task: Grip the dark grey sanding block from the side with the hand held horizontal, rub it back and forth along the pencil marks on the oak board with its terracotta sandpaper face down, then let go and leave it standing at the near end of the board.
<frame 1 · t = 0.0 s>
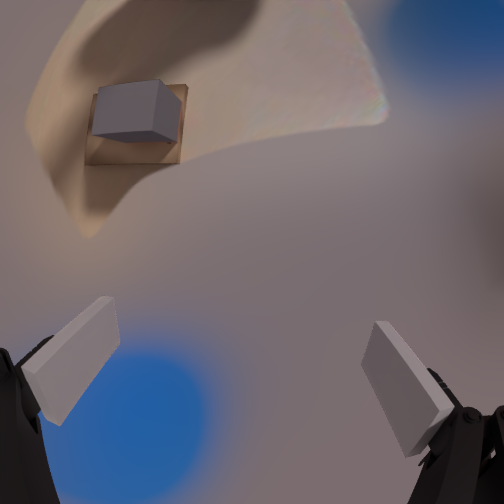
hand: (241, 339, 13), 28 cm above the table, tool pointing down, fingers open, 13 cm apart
oak board: (134, 126, 36), on the table
sanding block: (154, 122, 34), point 2 cm above the table, touching oak board
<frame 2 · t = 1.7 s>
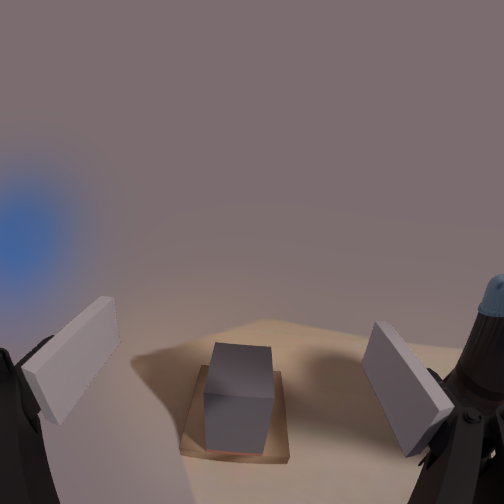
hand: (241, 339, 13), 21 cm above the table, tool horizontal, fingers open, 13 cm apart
oak board: (237, 414, 31), on the table
sanding block: (236, 428, 27), point 2 cm above the table, touching oak board
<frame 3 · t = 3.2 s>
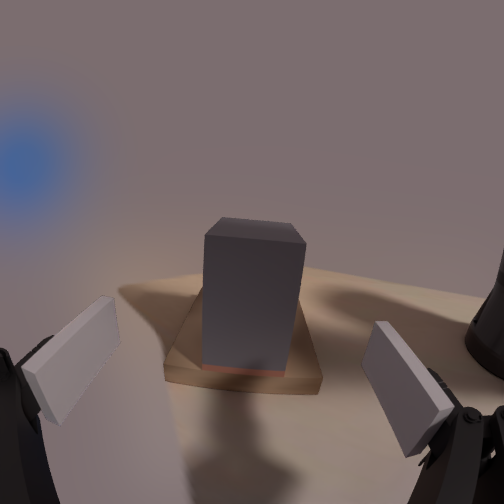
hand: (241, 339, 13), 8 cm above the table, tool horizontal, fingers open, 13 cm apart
oak board: (245, 338, 27), on the table
sanding block: (245, 345, 22), point 2 cm above the table, touching oak board
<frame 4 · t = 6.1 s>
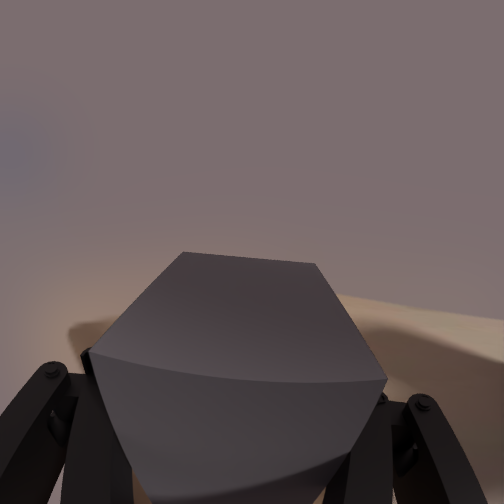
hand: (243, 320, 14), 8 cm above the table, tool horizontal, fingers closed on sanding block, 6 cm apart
oak board: (234, 428, 15), on the table
sanding block: (231, 463, 11), point 2 cm above the table, touching gripper, oak board
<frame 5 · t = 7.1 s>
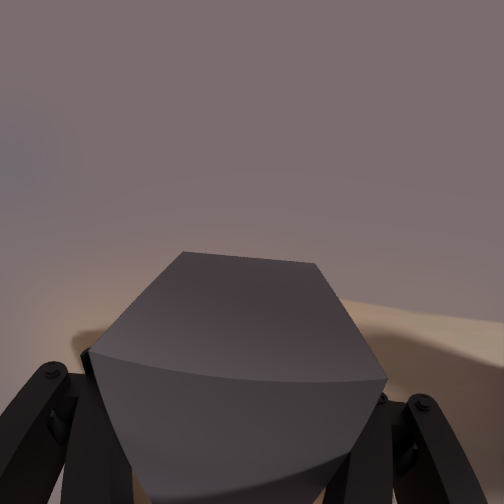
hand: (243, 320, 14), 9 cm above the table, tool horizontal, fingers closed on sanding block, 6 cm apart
oak board: (235, 436, 15), on the table
sanding block: (231, 463, 11), point 3 cm above the table, touching gripper
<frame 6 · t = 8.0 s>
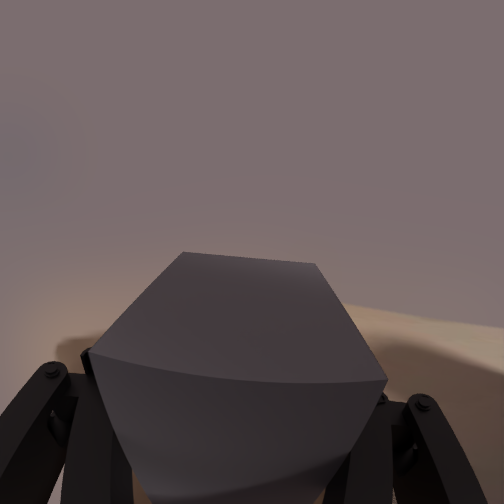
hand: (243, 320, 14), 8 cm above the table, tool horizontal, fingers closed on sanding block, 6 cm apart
oak board: (236, 468, 12), on the table
sanding block: (230, 463, 11), point 2 cm above the table, touching gripper
when the fingers open (8 cm above the table, at t = 11.3 s): sanding block stays where it is, resting on oak board.
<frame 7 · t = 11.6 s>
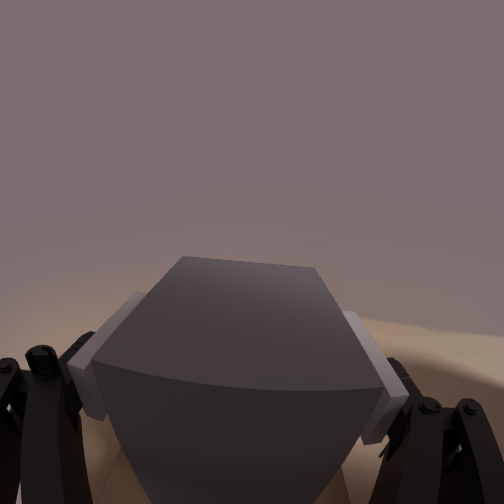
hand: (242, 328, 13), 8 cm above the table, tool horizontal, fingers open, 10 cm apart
sanding block: (230, 464, 11), point 2 cm above the table, touching oak board
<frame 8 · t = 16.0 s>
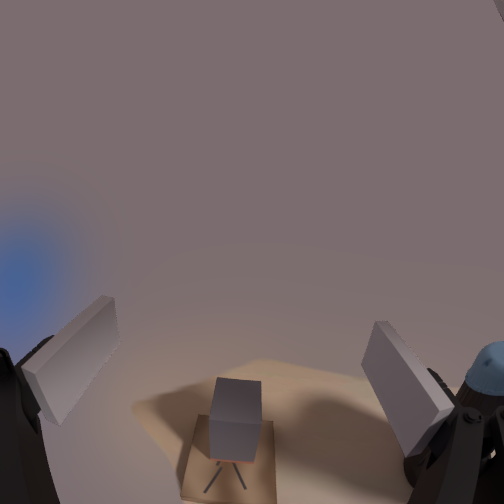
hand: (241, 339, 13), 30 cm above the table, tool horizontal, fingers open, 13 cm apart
oak board: (231, 462, 30), on the table
sanding block: (233, 441, 33), point 2 cm above the table, touching oak board
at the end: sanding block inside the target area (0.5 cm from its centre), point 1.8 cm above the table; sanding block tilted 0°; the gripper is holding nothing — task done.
